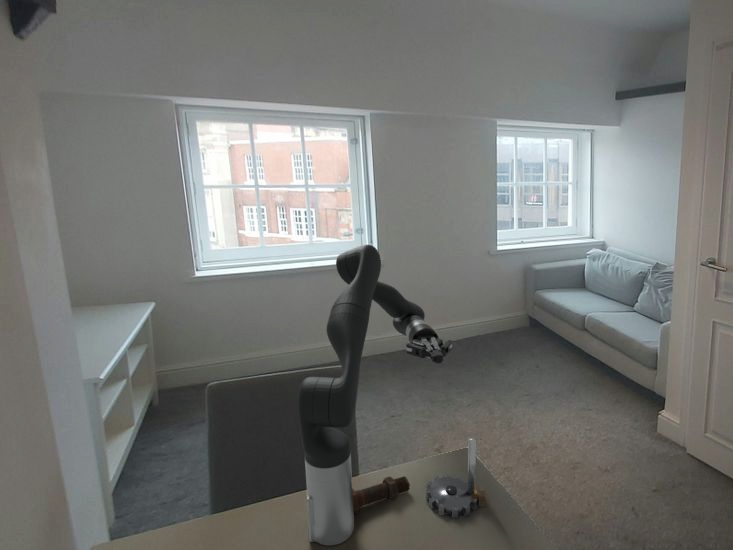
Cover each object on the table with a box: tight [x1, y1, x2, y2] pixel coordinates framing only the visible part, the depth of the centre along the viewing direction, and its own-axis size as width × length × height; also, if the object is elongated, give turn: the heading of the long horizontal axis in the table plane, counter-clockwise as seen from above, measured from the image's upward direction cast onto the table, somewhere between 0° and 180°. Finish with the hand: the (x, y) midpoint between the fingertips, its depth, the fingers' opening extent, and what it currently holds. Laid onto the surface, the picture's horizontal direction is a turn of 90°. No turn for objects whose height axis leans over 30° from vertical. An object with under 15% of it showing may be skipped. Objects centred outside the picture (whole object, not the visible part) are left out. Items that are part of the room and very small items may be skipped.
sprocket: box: [425, 436, 478, 519], centre depth 93 cm, size 11×11×15 cm
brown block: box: [478, 489, 486, 508], centre depth 92 cm, size 1×2×2 cm, turn 167°
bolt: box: [352, 476, 411, 516], centre depth 94 cm, size 6×5×15 cm
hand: (438, 359), depth 101 cm, fingers closed
